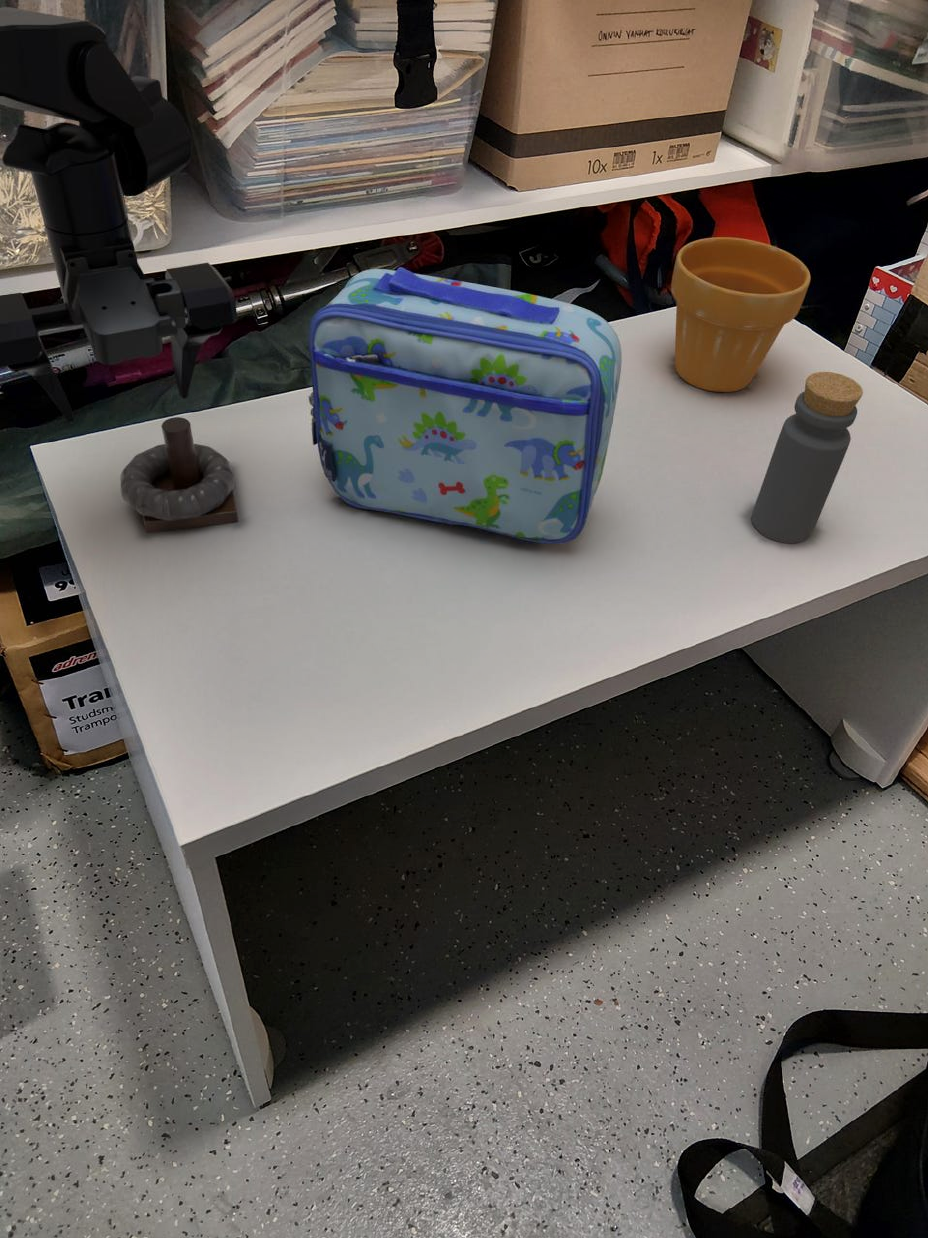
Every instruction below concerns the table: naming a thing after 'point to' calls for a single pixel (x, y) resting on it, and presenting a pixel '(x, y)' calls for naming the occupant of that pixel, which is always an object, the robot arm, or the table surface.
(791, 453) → the bottle
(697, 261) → the flower pot
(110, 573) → the table surface
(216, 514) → the peg stand
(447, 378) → the lunch box
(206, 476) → the ring
